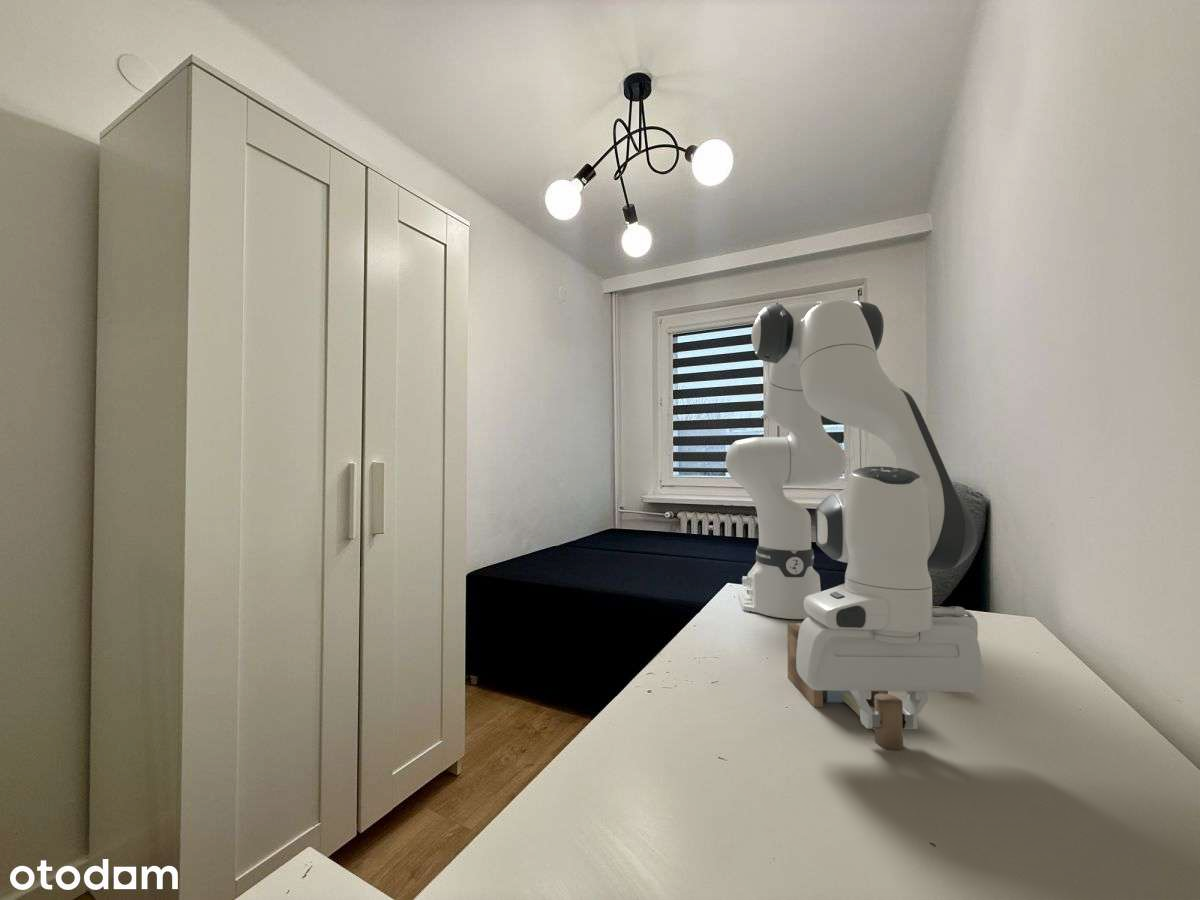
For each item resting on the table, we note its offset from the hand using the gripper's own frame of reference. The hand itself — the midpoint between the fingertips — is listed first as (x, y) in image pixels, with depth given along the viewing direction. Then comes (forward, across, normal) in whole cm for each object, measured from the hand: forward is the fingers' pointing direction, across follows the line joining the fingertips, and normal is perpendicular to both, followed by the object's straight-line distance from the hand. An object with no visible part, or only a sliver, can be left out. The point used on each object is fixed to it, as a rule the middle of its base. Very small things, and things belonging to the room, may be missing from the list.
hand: (888, 726), depth 57 cm
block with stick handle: (+2, 0, -7) cm, 7 cm away
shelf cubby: (+2, 0, -13) cm, 13 cm away
